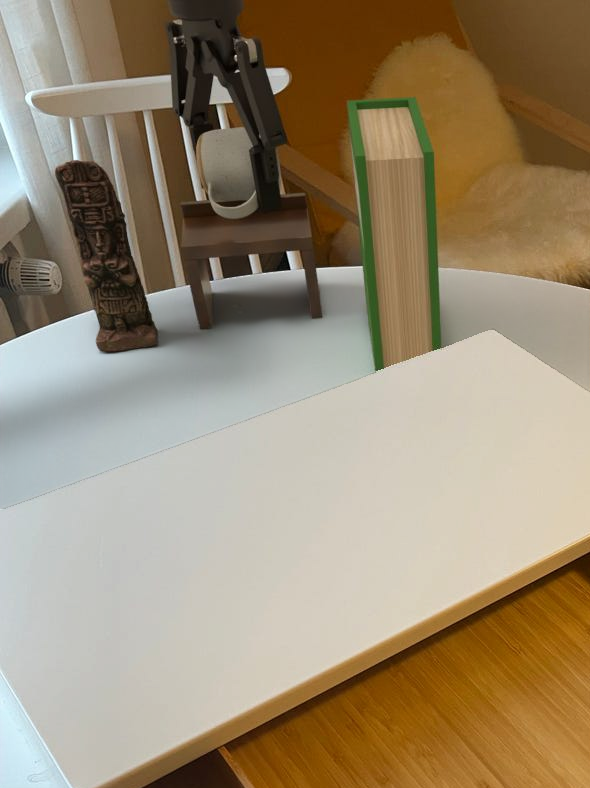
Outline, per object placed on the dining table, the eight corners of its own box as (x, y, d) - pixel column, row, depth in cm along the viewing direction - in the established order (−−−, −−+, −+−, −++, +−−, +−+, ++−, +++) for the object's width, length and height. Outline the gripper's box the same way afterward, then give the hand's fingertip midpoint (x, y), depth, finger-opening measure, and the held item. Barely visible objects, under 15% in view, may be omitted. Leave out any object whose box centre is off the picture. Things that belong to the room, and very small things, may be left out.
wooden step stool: (199, 329, 115) (177, 234, 107) (201, 293, 122) (180, 201, 114) (322, 317, 117) (310, 223, 109) (317, 283, 124) (305, 192, 116)
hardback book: (442, 380, 106) (433, 151, 89) (377, 385, 105) (355, 156, 88) (426, 309, 118) (415, 97, 101) (367, 313, 117) (346, 100, 100)
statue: (98, 354, 110) (41, 175, 96) (100, 327, 115) (46, 152, 101) (158, 347, 112) (110, 169, 98) (158, 320, 117) (112, 147, 102)
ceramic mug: (216, 186, 113) (202, 116, 107) (284, 185, 113) (273, 115, 107) (198, 222, 105) (181, 149, 100) (270, 221, 105) (258, 148, 100)
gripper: (302, -23, 90) (330, 213, 106) (166, -52, 101) (209, 166, 117) (238, -10, 86) (277, 233, 102) (104, -41, 98) (158, 182, 113)
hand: (241, 197), depth 109 cm, fingers closed on ceramic mug, 10 cm apart
